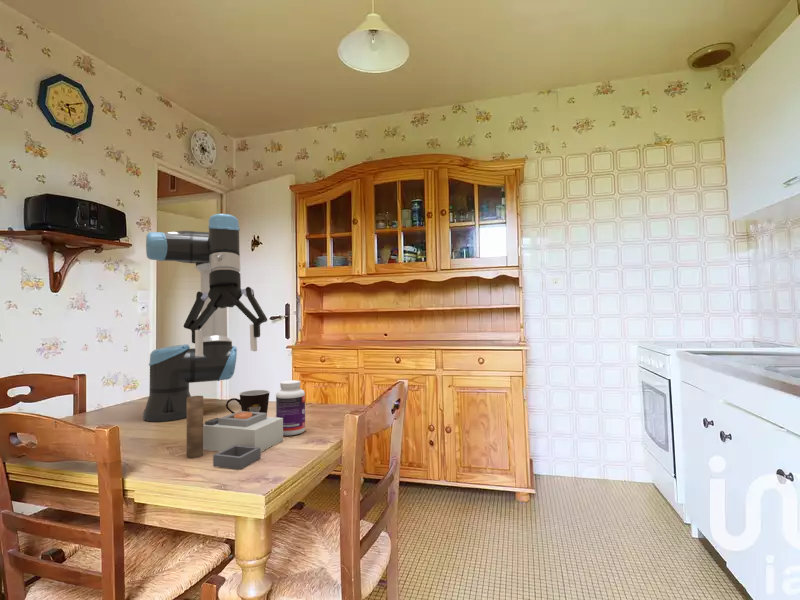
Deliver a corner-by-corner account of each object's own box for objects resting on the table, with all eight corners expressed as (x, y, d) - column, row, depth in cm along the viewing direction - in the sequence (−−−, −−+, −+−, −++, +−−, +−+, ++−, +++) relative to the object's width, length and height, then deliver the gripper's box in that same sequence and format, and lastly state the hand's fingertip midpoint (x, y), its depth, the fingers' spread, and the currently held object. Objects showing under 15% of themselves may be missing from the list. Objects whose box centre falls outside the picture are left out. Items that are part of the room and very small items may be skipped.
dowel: (183, 457, 99) (183, 398, 100) (194, 452, 103) (194, 395, 103) (195, 458, 98) (195, 399, 99) (206, 453, 102) (206, 396, 102)
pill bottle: (308, 434, 117) (308, 382, 117) (279, 438, 113) (278, 385, 114) (301, 427, 124) (301, 378, 125) (273, 430, 121) (273, 380, 121)
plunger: (230, 427, 107) (230, 415, 107) (241, 422, 111) (241, 411, 111) (244, 428, 106) (244, 416, 106) (255, 423, 110) (255, 412, 110)
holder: (213, 466, 93) (213, 455, 93) (234, 455, 100) (234, 445, 100) (240, 469, 91) (240, 458, 91) (260, 458, 98) (260, 447, 98)
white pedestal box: (200, 449, 105) (200, 419, 105) (233, 435, 116) (233, 408, 117) (254, 455, 100) (254, 423, 100) (283, 440, 112) (282, 412, 112)
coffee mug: (274, 422, 130) (274, 390, 130) (262, 430, 122) (262, 395, 122) (238, 421, 131) (238, 389, 132) (224, 429, 123) (224, 395, 123)
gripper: (169, 273, 105) (168, 357, 101) (268, 263, 106) (272, 346, 102) (183, 280, 112) (183, 359, 108) (276, 271, 113) (280, 349, 109)
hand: (226, 353), depth 105 cm, fingers open, 13 cm apart
